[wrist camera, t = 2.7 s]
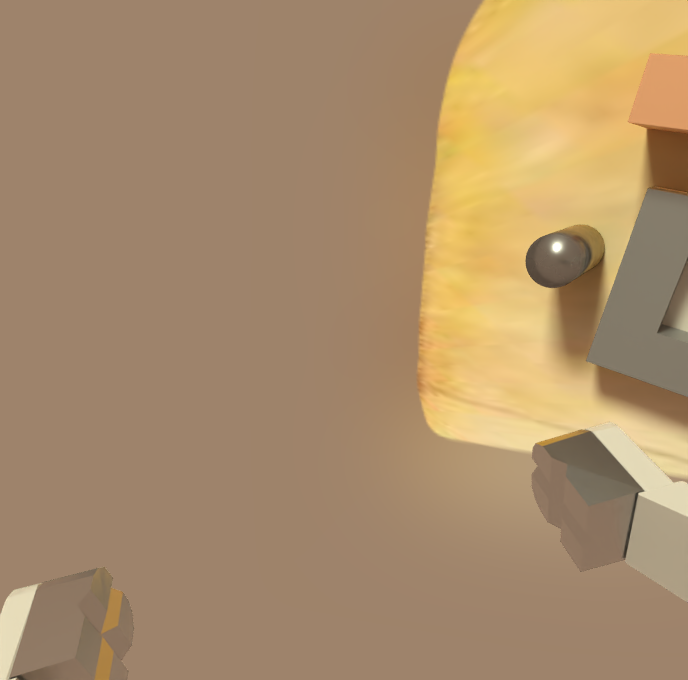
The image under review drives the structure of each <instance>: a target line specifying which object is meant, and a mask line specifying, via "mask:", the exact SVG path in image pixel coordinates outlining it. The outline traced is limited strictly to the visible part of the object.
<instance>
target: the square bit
mask: <svg viewBox="0 0 688 680" xmlns="http://www.w3.org/2000/svg"><path fill="white" fill-rule="evenodd" d="M628 122H629V123H632V124H635V125H639V126H642V127H645V128H649V129H657V130H664V131H672V132H679V133H687V134H688V56H680V55H666V54H651V53H650V56H649V59H648V62H647V65H646V68H645V71H644V74H643V77H642V80H641V83H640V86H639V89H638V92H637V95H636V99H635V102H634V105H633V108H632V111H631V114H630V117H629V120H628Z"/></svg>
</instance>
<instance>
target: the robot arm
mask: <svg viewBox="0 0 688 680" xmlns="http://www.w3.org/2000/svg"><path fill="white" fill-rule="evenodd" d="M532 458H533V460H534V461H535V463H536V464H537V465H538V467H537V468H536V469H535V471H534V472H533V473H532V489H533V492H534V496H535V499H536V502H537V504H538V506H539V508H540V510H541V512H542V514H543V515H544V517H545V518H546V520H547V522H549V523H551V524H553V525H555V526H556V527H558V528H561V543H562V544H563V546H564V548H565V549H566V551H567V552H568V554H569V555H570V556H571V558H572V559H573V561H574V563H575V564H576V565H577V567H578V568H579V570H580V572H582V571H586V570H590V569H593V568H597V567H600V566H604V565H608V564H611V563H615V562H619V561H622V560H625V563H627V564H628V565H630V566H631V567H633V568H634V569H636V570H638V571H639V572H641V573H642V574H644V575H645V576H647V577H648V578H650V579H652V580H653V581H655V582H656V583H658V584H660V585H661V586H663V587H664V588H666V589H667V590H669V591H670V592H672V593H674V594H675V595H677V596H678V597H680V598H682V599H683V600H684V601H686V602H687V603H688V483H686V482H684V481H679V482H675V483H674V482H673V481H672V480H671V479H670V478H669V477H668V476H667V475H666V474H665V473H664V472H663V471H662V470H661V469H660V468H659V467H658V466H657V465H656V464H655V463H654V462H653V461H652V460H651V459H650V458H649V457H648V456H647V455H646V454H645V453H644V452H643V451H642V450H641V449H640V448H639V447H638V446H637V445H636V444H635V443H634V442H633V441H632V440H631V439H630V438H629V437H628V436H627V435H626V434H625V433H624V432H623V431H622V430H621V429H620V428H619V427H618V426H617V425H616V424H614V423H612V422H608V423H604V424H601V425H597V426H594V427H590V428H587V429H585V430H578V431H575V432H572V433H568V434H565V435H562V436H558V437H555V438H552V439H548V440H545V441H542V442H538V443H535V445H534V447H533V453H532ZM112 580H113V577H112V576H111V575H110V573H109V572H108V571H107V570H106V568H105V567H102V568H96V569H93V570H89V571H85V572H81V573H77V574H73V575H69V576H65V577H61V578H58V579H53V580H50V581H46V582H42V583H39V584H35V585H31V586H28V587H24V588H20V589H16V590H14V591H13V592H12V593H11V594H10V595H9V597H8V598H7V599H6V601H5V603H4V607H3V609H2V612H1V615H0V680H127V678H128V670H127V668H126V667H125V665H124V664H123V662H122V661H121V660H122V659H123V657H124V656H125V654H126V653H127V651H128V650H129V648H130V647H131V645H132V639H133V630H134V627H133V617H132V616H133V615H132V610H131V607H130V604H129V601H128V599H127V598H126V596H125V594H124V593H123V592H122V591H119V590H116V589H113V588H111V586H112Z"/></svg>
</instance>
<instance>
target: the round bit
mask: <svg viewBox="0 0 688 680" xmlns="http://www.w3.org/2000/svg"><path fill="white" fill-rule="evenodd" d="M604 250H605V244H604V240H603V238H602V236H601V234H600V233H599V232H598V231H597V230H596V229H594V228H593V227H590V226H587V225H575V226H572V227H569V228H566V229H563V230H560V231H557V232H554V233H551V234H548V235H545V236H542V237H540V238H539V239H537V240H536V241H535V242H534V243H533V244H532V245H531V246H530V248H529V250H528V252H527V255H526V268H527V271H528V273H529V275H530V277H531V278H532V279H533V280H534V281H535V282H536V283H538V284H540V285H542V286H544V287H548V288H557V287H562V286H564V285H566V284H568V283H570V282H571V281H573V280H574V279H576V278H577V277H579V276H581V275H582V274H584V273H585V272H587V271H588V270H590V269H591V268H593V267H594V266H596V265H597V264H598V263H599V262H600V260H601V259H602V257H603V254H604Z"/></svg>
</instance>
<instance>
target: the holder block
mask: <svg viewBox="0 0 688 680" xmlns="http://www.w3.org/2000/svg"><path fill="white" fill-rule="evenodd" d="M586 361H587V362H590V363H593V364H596V365H599V366H601V367H604V368H607V369H610V370H613V371H616V372H618V373H621V374H624V375H627V376H630V377H632V378H635V379H638V380H641V381H644V382H647V383H649V384H652V385H655V386H658V387H661V388H664V389H666V390H669V391H672V392H675V393H678V394H681V395H683V396H686V397H688V192H683V191H677V190H672V189H666V188H661V187H652V188H648V189H647V192H646V195H645V198H644V200H643V203H642V206H641V209H640V212H639V214H638V217H637V220H636V223H635V226H634V228H633V231H632V234H631V237H630V240H629V242H628V245H627V248H626V251H625V254H624V256H623V259H622V262H621V265H620V267H619V270H618V273H617V276H616V279H615V281H614V284H613V287H612V290H611V293H610V295H609V298H608V301H607V304H606V307H605V309H604V312H603V315H602V318H601V321H600V323H599V326H598V329H597V332H596V334H595V337H594V340H593V343H592V346H591V348H590V351H589V354H588V357H587V360H586Z"/></svg>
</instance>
